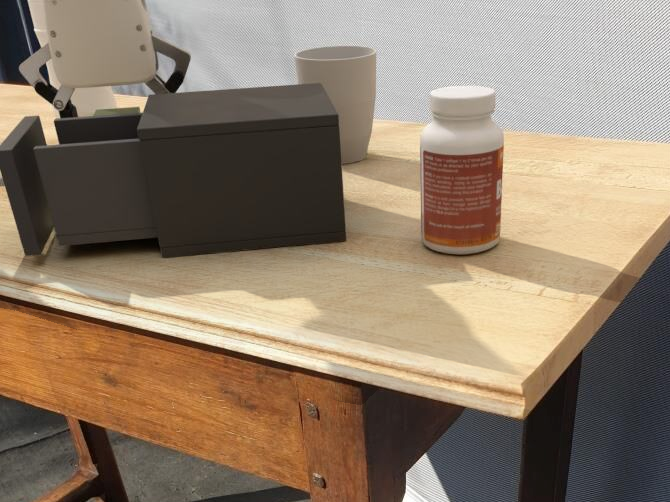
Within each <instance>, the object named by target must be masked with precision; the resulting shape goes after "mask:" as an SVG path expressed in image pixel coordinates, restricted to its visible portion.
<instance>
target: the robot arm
mask: <svg viewBox="0 0 670 502" xmlns="http://www.w3.org/2000/svg"><path fill="white" fill-rule="evenodd" d="M42 3H43V11H44V18H45V24H46V30H47V36H48V43H47V44H46V45H45V46H43V47H42V48H41V47H40V48H39V49H38V50H37V51H35V52H34V53H33V54H32V55H30V56H28V58H26V59H25V60H24V61H23V62H21V64H19V66H18V71H19V72H20V74H21V75H22V76H23V78H24V79H25V81H27V83H28V84H29V85H30V86H31V87H32V88H33V89H34V92H35V93H36V94H37V95H38V96H39V97H41V98H42V99H44V100H45V101H46V102H48V103H49V104H50V105H51V106H52V105H53V106H54V108H55V109H56V110H58V111H59V114H60V118H72V117H78V114H77V110H76V106H74V104H72V102H71V100H70V98H71V96H72V94H73V92H74V90H75V88H90V87H104V86H111V87H117V86H128V85H139V84H145V86H147V88H149V90H150V91H152V92H153V93H154V94H167V93H177V91H178V90H179V88H180V87H181V86H182V84H183V83H184V81H185V78H186V75H187V72H188V68H189V65H190V63H191V59H192V53H191V52H190V51H189V50H186V49H185V48H182V47H180V46H179V45H177V44H175V43H173V42H170V41H168V40H166V39H165V38H162V37H160V36H158V35H156V34H154V32H153V27H152V23H151V18H150V14H149V11H148V7H147V3H146V0H42ZM158 53H159V54H161V55H163V56H165V57H167V58H170V59H171V60H173V61H174V63H175V66H174V69H173V72H172V73H171V74H170V76H169V77H168V79H167V80H164V78H162V77H161V75H159V73H158V72H157V71H159V56H158ZM51 58H52V62H53V67H54V70H55V74H56V77H57V79H58V81H59V82H60V83H61V86H60V88H59V90H57V89H56V88H55V87H53V86H52V85H51V84H50V82H49V81H47V80H45V78H44V77H43V75H42V74H41V72H40V68H41V67H42V66H44V65H46V62H47V61H49V60H50V59H51ZM53 106H52V107H53Z"/></svg>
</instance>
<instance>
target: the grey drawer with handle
mask: <svg viewBox="0 0 670 502" xmlns="http://www.w3.org/2000/svg"><path fill="white" fill-rule="evenodd" d="M142 114H143V112H141V113H128V114H114V115H100V116H86V117H72V118H58V119H56V118H54V119H53V124H54V128H55V133H56V137H57V141H58V144H47V140H46V136H45V132H44V129H43V125H42V121H41V120H42V119H41V117H40V115H28V116H27V115H26V116H24V117H23V118H22V119H21V120H20V121H19V122H18V123H17V125H16V126H15V127H13V129H12V130H11V132H10V133H9V134H8V135H7V136H6V137H5V139H4V140H3V141H2V142H1V143H0V187H4V188H5V191H6V195H7V198H8V202H9V205H10V209H11V212H12V216H13V219H14V222H15V227H16V230H17V232H18V236H19V240H20V243H21V246H22V249H23V254H24V256H25V257H30V256H40V255H42V254H43V251H44V250H45V248H46V246H47V243H48V241H49V240H50V237H51V235H52V233H53V232H55V236H56V240H57V244H58V246H59V247H65V246H76V245H87V244H99V243H111V242H120V241H122V242H123V241H132V240H133V241H134V240H144V239H155V238H156V239H158V235H157V230H156V225H155V220H154V215H153V210H152V205H151V199H150V194H149V189H148V184H147V179H146V174H145V169H144V164H143V158H142V153H141V148H140V143H139V138H138V133H137V128H138V125H139V122H140V119H141V117H142ZM53 230H54V231H53Z"/></svg>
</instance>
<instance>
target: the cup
mask: <svg viewBox="0 0 670 502" xmlns="http://www.w3.org/2000/svg"><path fill="white" fill-rule="evenodd" d="M293 56H294V58H293V59H294V63H295V71H296V79H297V84H312V83H321V84H322V86H323V87H324V89H325V91H326V93H327V95H328V97H329V98H330V100H331V102H332V104H333V106H334V108H335V109H336V111H337V113H338V115H339V130H340V146H341V162H342V165H344V164H345V165H347V164H352V163H357V162H360V161H363V160H364V159H365V158H366V157H367V153H368V149H369V145H370V141H371V136H372V132H373V126H374V117H375V115H374V114H375V106H376V97H377V49H375V48H373V47H369V46H361V45H331V46H321V47H313V48H308V49H303V50H299V51H297V52H295V53H294V55H293Z"/></svg>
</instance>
